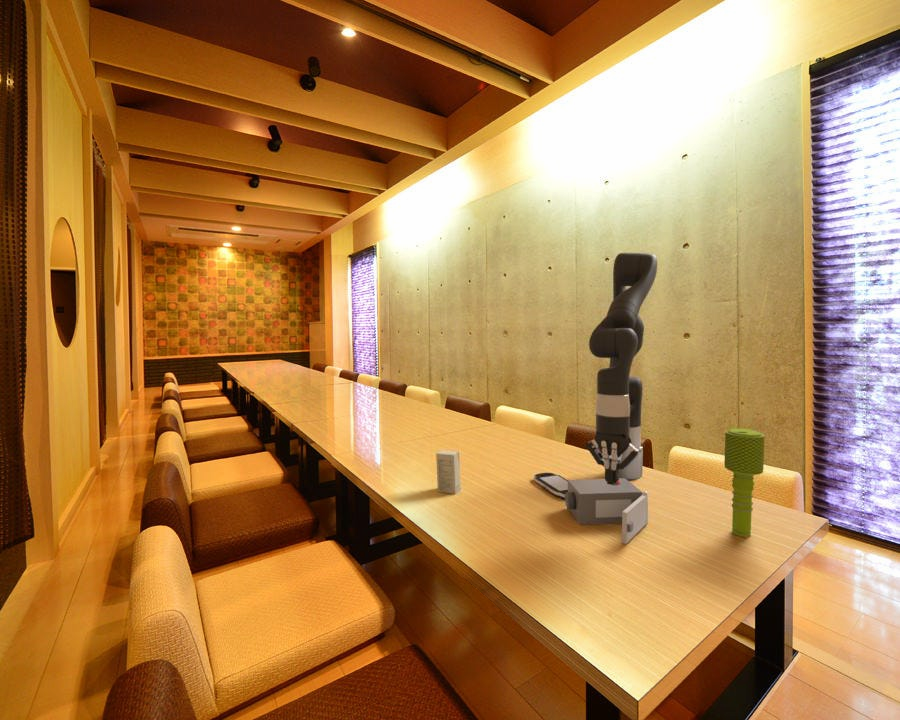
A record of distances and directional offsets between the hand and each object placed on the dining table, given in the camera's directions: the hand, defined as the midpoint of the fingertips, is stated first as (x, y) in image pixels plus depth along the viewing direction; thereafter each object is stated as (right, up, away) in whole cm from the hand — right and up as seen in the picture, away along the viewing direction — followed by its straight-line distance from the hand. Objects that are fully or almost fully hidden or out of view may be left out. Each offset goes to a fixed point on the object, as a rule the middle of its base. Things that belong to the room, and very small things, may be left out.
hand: (611, 483), depth 102 cm
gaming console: (-5, -11, +31) cm, 33 cm away
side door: (+6, -12, 0) cm, 13 cm away
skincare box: (-39, -11, +30) cm, 51 cm away
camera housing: (+2, -12, +11) cm, 16 cm away
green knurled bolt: (+31, -12, 0) cm, 33 cm away
